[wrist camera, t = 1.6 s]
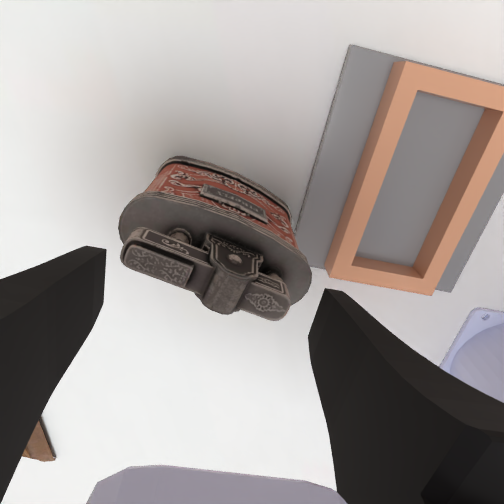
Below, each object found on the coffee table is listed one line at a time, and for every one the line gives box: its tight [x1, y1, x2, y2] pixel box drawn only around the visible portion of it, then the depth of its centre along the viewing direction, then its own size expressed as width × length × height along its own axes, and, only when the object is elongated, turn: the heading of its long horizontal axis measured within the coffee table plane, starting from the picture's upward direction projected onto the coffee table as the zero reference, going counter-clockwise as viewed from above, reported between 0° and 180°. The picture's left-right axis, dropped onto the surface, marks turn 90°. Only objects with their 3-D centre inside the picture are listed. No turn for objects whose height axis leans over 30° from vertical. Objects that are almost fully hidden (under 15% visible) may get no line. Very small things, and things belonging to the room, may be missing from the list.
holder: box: [294, 45, 504, 296], centre depth 20 cm, size 11×12×2 cm
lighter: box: [118, 156, 312, 321], centre depth 17 cm, size 8×3×10 cm, turn 65°
